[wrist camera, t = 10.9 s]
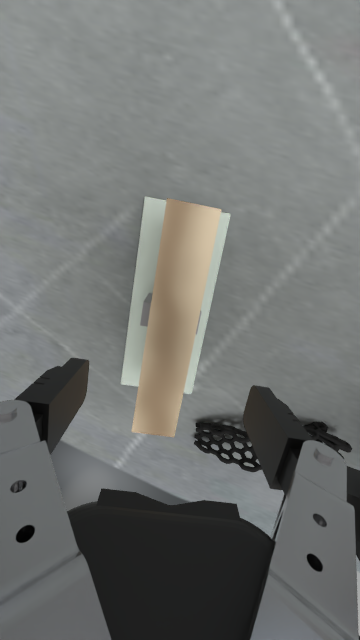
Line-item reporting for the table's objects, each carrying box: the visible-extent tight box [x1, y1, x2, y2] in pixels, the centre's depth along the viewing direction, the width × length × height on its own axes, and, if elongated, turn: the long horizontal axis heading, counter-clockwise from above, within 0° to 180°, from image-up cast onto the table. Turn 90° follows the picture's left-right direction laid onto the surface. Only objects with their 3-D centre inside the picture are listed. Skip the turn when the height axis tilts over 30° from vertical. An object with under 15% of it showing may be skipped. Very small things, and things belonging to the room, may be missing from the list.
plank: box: [132, 198, 221, 437], centre depth 22 cm, size 4×20×5 cm, turn 170°
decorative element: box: [194, 422, 352, 472], centre depth 34 cm, size 22×5×6 cm, turn 86°
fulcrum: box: [121, 197, 231, 394], centre depth 28 cm, size 10×24×7 cm, turn 170°
